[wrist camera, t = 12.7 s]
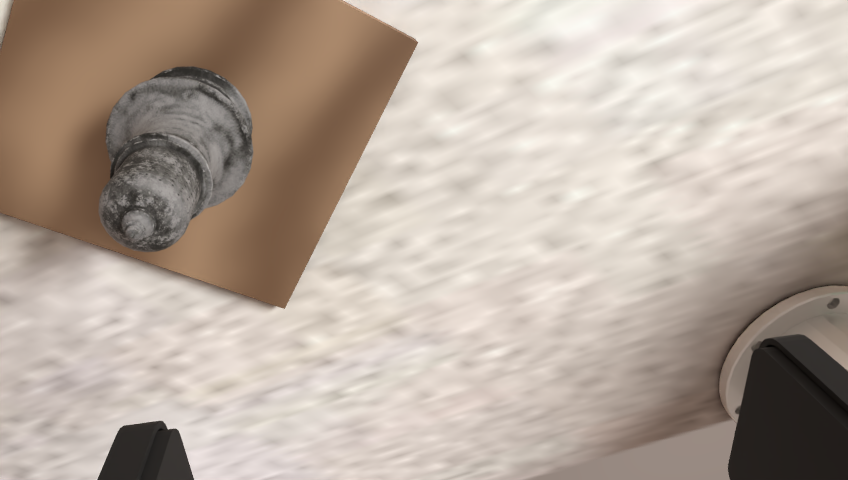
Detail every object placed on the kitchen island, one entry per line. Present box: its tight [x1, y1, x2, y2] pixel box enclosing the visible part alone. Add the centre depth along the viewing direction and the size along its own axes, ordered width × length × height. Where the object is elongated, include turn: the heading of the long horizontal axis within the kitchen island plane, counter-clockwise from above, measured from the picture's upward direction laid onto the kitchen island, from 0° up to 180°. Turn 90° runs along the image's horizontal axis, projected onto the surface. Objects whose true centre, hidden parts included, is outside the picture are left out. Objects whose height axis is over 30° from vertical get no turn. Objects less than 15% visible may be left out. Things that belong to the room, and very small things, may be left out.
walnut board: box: [0, 0, 418, 309], centre depth 30 cm, size 16×16×1 cm
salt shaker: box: [99, 66, 253, 252], centre depth 24 cm, size 6×6×12 cm
